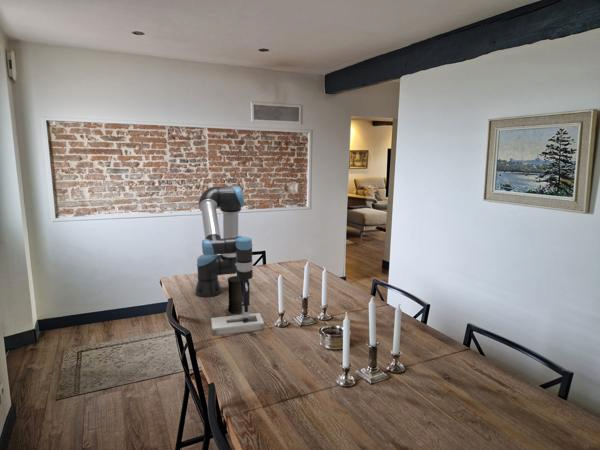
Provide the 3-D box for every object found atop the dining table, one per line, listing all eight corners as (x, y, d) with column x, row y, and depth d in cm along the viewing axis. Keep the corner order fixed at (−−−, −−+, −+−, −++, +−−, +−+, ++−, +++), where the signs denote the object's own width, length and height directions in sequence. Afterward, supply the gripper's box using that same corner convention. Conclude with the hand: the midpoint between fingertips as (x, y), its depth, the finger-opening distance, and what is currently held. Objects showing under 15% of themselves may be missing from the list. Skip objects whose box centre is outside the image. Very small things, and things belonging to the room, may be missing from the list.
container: (246, 307, 214) (246, 275, 210) (242, 314, 205) (241, 281, 202) (230, 306, 215) (229, 275, 211) (225, 313, 206) (224, 280, 202)
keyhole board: (211, 324, 193) (211, 318, 192) (259, 319, 199) (259, 312, 199) (212, 335, 181) (212, 328, 181) (264, 329, 188) (263, 322, 187)
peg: (239, 323, 193) (239, 294, 190) (250, 322, 195) (249, 293, 192) (241, 327, 188) (240, 298, 185) (251, 326, 190) (251, 297, 187)
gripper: (234, 265, 192) (235, 310, 197) (238, 275, 178) (239, 323, 182) (249, 264, 194) (250, 309, 199) (255, 274, 180) (256, 322, 184)
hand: (245, 316), depth 191 cm, fingers closed on peg, 2 cm apart
